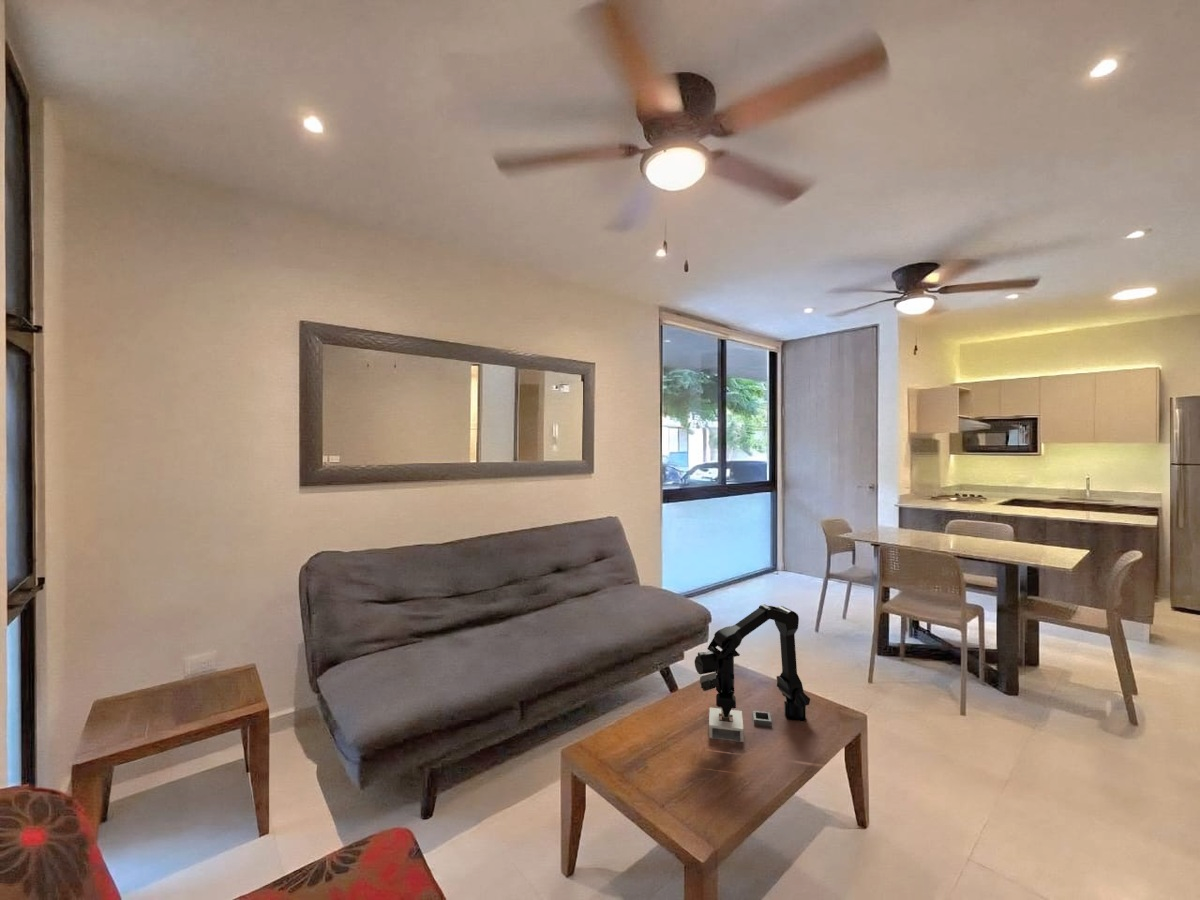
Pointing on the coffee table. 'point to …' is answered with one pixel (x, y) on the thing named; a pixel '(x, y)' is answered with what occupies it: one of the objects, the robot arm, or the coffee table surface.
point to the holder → (762, 718)
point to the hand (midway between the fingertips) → (725, 714)
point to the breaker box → (726, 726)
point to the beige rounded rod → (726, 719)
